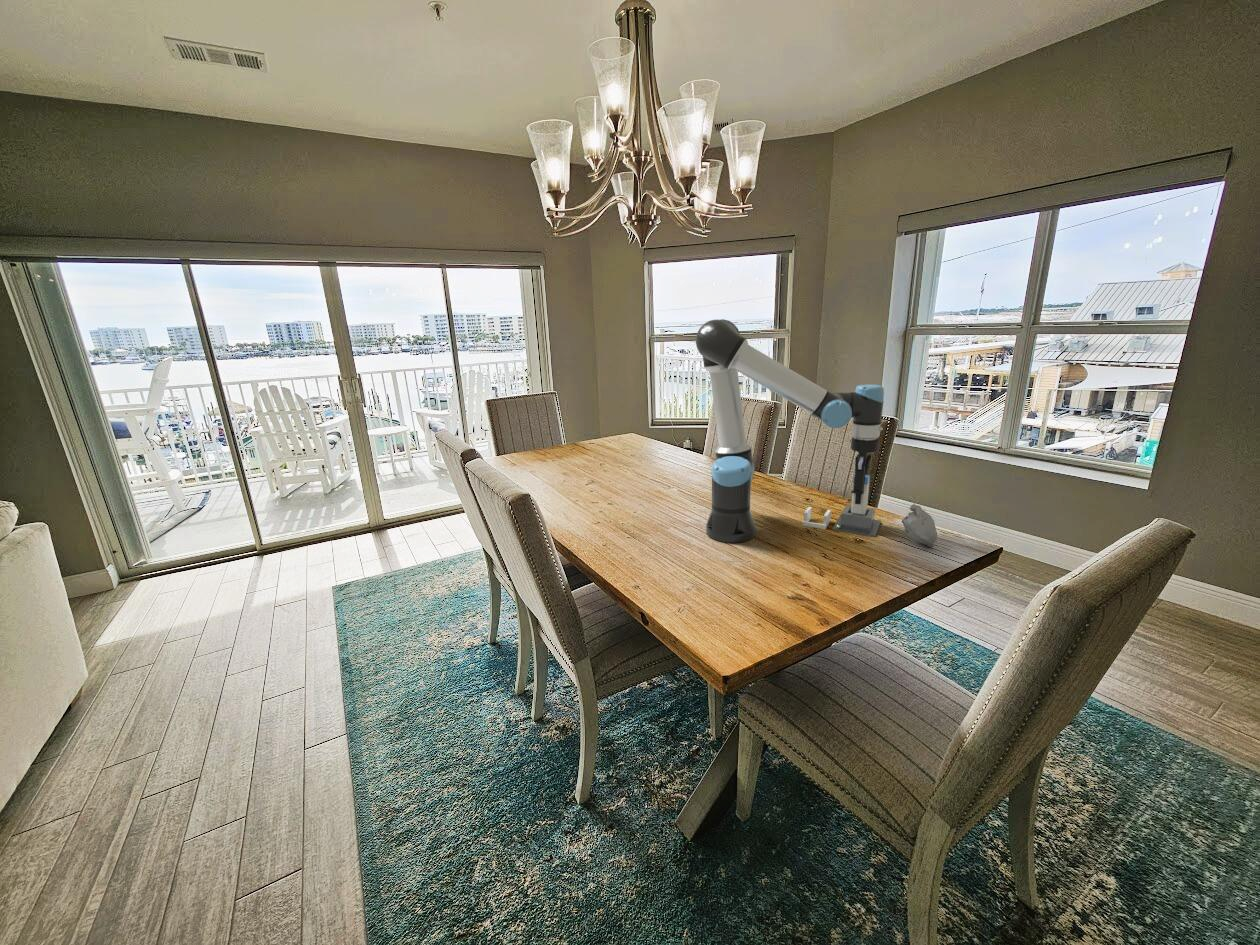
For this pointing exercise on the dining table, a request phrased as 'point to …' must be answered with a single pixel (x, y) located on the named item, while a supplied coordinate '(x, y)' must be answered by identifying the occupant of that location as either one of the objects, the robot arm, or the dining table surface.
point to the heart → (920, 526)
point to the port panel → (857, 522)
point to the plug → (866, 490)
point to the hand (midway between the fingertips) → (858, 510)
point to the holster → (822, 526)
